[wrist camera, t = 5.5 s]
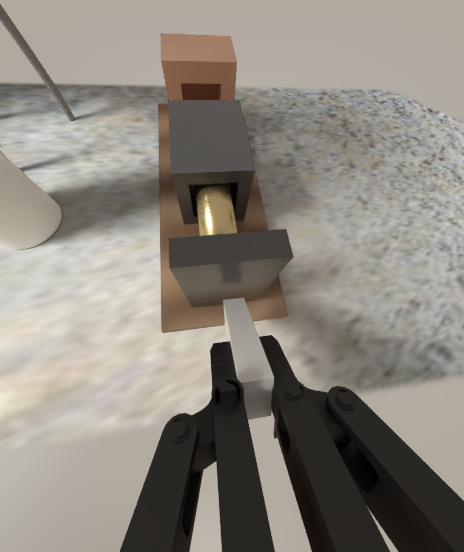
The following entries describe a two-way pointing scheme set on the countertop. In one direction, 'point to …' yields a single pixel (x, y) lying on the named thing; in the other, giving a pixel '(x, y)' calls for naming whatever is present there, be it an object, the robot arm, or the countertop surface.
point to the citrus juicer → (34, 61)
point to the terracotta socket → (198, 67)
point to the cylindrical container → (24, 209)
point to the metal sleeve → (209, 152)
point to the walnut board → (173, 299)
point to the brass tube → (225, 253)
